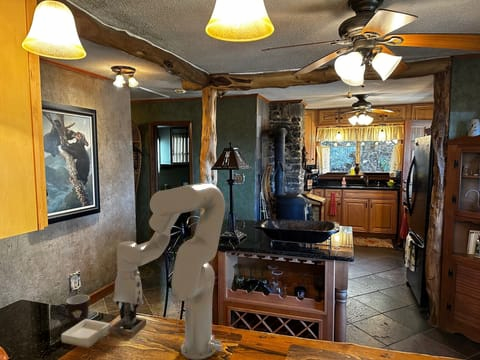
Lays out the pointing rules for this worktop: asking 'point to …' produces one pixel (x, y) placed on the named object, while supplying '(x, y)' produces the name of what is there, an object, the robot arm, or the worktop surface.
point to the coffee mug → (76, 309)
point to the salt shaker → (127, 318)
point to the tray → (85, 333)
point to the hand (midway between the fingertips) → (128, 317)
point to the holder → (119, 331)
